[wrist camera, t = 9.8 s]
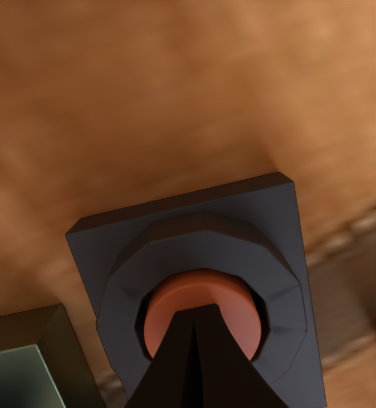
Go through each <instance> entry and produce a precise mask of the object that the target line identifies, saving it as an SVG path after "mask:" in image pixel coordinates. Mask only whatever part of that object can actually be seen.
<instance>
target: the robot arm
mask: <svg viewBox="0 0 376 408" xmlns="http://www.w3.org/2000/svg"><path fill="white" fill-rule="evenodd" d="M124 408H289V407H288V406H287V405H286V404H285V403H284V401H283V400H282V399H281V398H280V397H279V396H278V395H277V394H276V393H275V391H274V390H273V389H272V388H271V387H270V386H269V384H268V383H267V382H266V381H265V380H264V378H263V377H262V376H261V375H260V374H259V372H258V371H257V370H256V368H255V367H254V366H253V364H252V363H251V362H250V361H249V359H248V358H247V356H246V355H245V354H244V352H243V351H242V349H241V348H240V346H239V345H238V343H237V342H236V340H235V338H234V337H233V335H232V334H231V332H230V330H229V328H228V326H227V325H226V323H225V321H224V319H223V316H222V314H221V311H220V307H219V305H217V304H216V303H213V304H208V305H204V306H199V307H194V308H190V309H185V310H180V311H176V312H175V313H174V315H173V317H172V319H171V321H170V324H169V326H168V328H167V331H166V333H165V335H164V337H163V339H162V341H161V343H160V345H159V347H158V349H157V351H156V353H155V355H154V357H153V359H152V361H151V363H150V365H149V367H148V369H147V370H146V372H145V374H144V376H143V377H142V379H141V381H140V383H139V384H138V386H137V388H136V389H135V391H134V393H133V395H132V396H131V398H130V399H129V401H128V402H127V404H126V406H125V407H124Z"/></svg>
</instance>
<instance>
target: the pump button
mask: <svg viewBox="0 0 376 408" xmlns="http://www.w3.org/2000/svg"><path fill="white" fill-rule="evenodd" d="M213 303H216V304H217V305H219V307H220V311H221V314H222V316H223V319H224V321H225V323H226V325H227V326H228V328H229V330H230V332H231V334H232V335H233V337H234V338H235V340H236V342H237V343H238V345H239V346H240V348H241V349H242V351H243V352H244V354H245V355H246V356H247V358H248V359H249V361H250V359H251V358H252V357H253V355H254V354H255V352H256V350H257V348H258V345H259V342H260V337H261V323H260V319H259V315H258V312H257V310H256V307H255V304H254V301H253V298H252V295H251V293H250V290H249V287H248V284H247V283H246V282H245V281H244V280H243V279H242V278H241V277H239V276H236V275H232V274H228V273H224V272H220V271H217V270H213V269H209V268H205V267H204V268H199V269H195V270H190V271H186V272H181V273H177V274H172V275H169V276H167V277H166V278H165V279H164V280H163V281H162V282H160V283H159V284H158V285H157V286H156V287H155V288H154V289H152V290H151V293H150V299H149V304H148V309H147V314H146V319H145V324H144V339H145V343H146V346H147V349H148V351H149V353H150V355H151V356H152V358H153V357H154V355H155V353H156V351H157V349H158V347H159V345H160V343H161V341H162V339H163V337H164V335H165V333H166V331H167V328H168V326H169V324H170V321H171V319H172V317H173V315H174V313H175V312H176V311H180V310H185V309H190V308H194V307H199V306H204V305H208V304H213Z"/></svg>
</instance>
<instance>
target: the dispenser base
mask: <svg viewBox="0 0 376 408" xmlns="http://www.w3.org/2000/svg"><path fill="white" fill-rule="evenodd" d="M65 236H66V239H67V242H68V244H69V247H70V250H71V252H72V255H73V257H74V260H75V263H76V265H77V268H78V270H79V273H80V276H81V278H82V281H83V284H84V286H85V289H86V291H87V294H88V297H89V299H90V302H91V304H92V307H93V310H94V312H95V315H96V317H97V320H96V329H97V332H98V335H99V337H100V340H101V342H102V345H103V347H104V350H105V353H106V355H107V358H108V360H109V363H110V366H111V368H112V369H113V371H114V372H115V373H117V374H118V375H119V378H120V380H121V383H122V385H123V388H124V391H125V393H126V396H127V398H128V401H129V399H130V398H131V396H132V395H133V393H134V391H135V389H136V388H137V386H138V384H139V383H140V381H141V379H142V377H143V376H144V374H145V372H146V370H147V369H148V367H149V365H150V363H151V361H152V359H153V358H152V356H151V355H150V353H149V351H148V349H147V346H146V343H145V339H144V324H145V319H146V314H147V309H148V304H149V299H150V293H151V290H152V289H154V288H155V287H156V286H157V285H158V284H159V283H160V282H162V281H163V280H164V279H165V278H166V277H167V276H169V275H172V274H177V273H181V272H186V271H190V270H195V269H199V268H204V267H205V268H209V269H213V270H217V271H220V272H224V273H228V274H232V275H236V276H239V277H241V278H242V279H243V280H244V281H245V282H246V283H247V284H248V287H249V290H250V293H251V295H252V298H253V301H254V304H255V307H256V310H257V312H258V315H259V319H260V323H261V337H260V342H259V345H258V348H257V350H256V352H255V354H254V355H253V357H252V358H251V359H250V362H251V363H252V364H253V366H254V367H255V368H256V370H257V371H258V372H259V374H260V375H261V376H262V377H263V378H264V380H265V381H266V382H267V383H268V384H269V386H270V387H271V388H272V389H273V390H274V391H275V393H276V394H277V395H278V396H279V397H280V398H281V399H282V400H283V401H284V403H285V404H286V405H287V406H288V407H289V408H326V407H327V403H326V397H325V390H324V383H323V376H322V369H321V362H320V356H319V349H318V342H317V335H316V328H315V321H314V314H313V308H312V301H311V294H310V287H309V280H308V273H307V266H306V260H305V253H304V246H303V239H302V232H301V225H300V219H299V212H298V205H297V198H296V191H295V184H294V181H293V180H291V179H290V178H288V177H287V176H285V175H284V174H282V173H281V172H275V173H271V174H267V175H263V176H258V177H254V178H250V179H246V180H241V181H237V182H233V183H229V184H224V185H220V186H216V187H212V188H207V189H203V190H199V191H195V192H190V193H186V194H182V195H178V196H173V197H169V198H165V199H160V200H156V201H152V202H148V203H143V204H139V205H135V206H131V207H126V208H122V209H118V210H114V211H109V212H105V213H101V214H97V215H92V216H88V217H84V218H80V219H79V220H78V221H77V222H76V223H75V225H74V226H73V227H72V228H71V229H70V230H69V231H68V232H67V233H66V234H65Z"/></svg>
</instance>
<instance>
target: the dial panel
mask: <svg viewBox="0 0 376 408" xmlns="http://www.w3.org/2000/svg"><path fill="white" fill-rule="evenodd" d="M0 408H105V406H104V403H103V401H102V398H101V396H100V394H99V391H98V389H97V386H96V384H95V381H94V379H93V377H92V374H91V372H90V369H89V367H88V365H87V362H86V360H85V357H84V355H83V352H82V350H81V348H80V345H79V343H78V340H77V338H76V336H75V333H74V331H73V328H72V326H71V323H70V321H69V319H68V316H67V314H66V311H65V309H64V307H63V304H58V305H53V306H49V307H44V308H40V309H35V310H30V311H26V312H21V313H17V314H12V315H8V316H3V317H0Z"/></svg>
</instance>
